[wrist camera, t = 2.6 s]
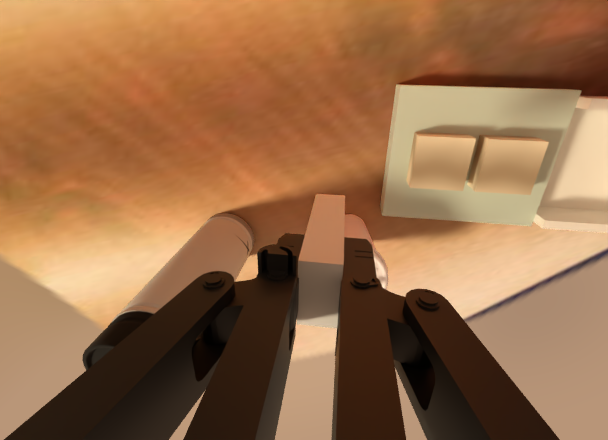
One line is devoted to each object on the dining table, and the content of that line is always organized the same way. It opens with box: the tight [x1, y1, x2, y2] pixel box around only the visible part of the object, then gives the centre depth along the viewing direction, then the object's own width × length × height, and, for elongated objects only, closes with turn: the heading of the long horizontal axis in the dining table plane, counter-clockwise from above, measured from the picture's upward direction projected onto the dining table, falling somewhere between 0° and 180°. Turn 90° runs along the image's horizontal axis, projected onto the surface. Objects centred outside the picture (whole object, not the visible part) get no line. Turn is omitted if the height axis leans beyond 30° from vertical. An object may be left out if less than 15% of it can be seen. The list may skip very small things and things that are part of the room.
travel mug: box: [83, 213, 254, 370], centre depth 28 cm, size 6×7×20 cm
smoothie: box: [344, 214, 388, 289], centre depth 29 cm, size 6×6×14 cm
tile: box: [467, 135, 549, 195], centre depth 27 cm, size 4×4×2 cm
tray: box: [533, 96, 608, 233], centre depth 27 cm, size 11×9×4 cm
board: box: [380, 84, 582, 226], centre depth 29 cm, size 12×14×2 cm
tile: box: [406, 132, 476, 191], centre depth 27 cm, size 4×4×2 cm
